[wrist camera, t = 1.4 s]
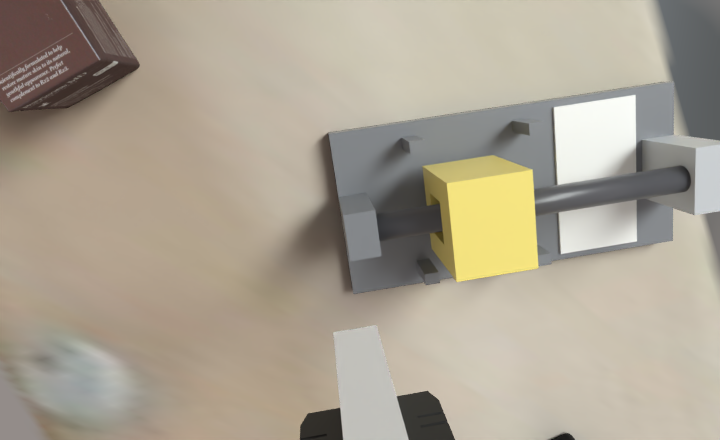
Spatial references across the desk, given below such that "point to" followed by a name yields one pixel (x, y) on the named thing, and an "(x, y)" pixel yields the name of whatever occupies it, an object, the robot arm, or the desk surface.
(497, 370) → the desk surface
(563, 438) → the battery
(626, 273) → the desk surface
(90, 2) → the box
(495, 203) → the sleeve
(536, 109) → the gray rail plate
